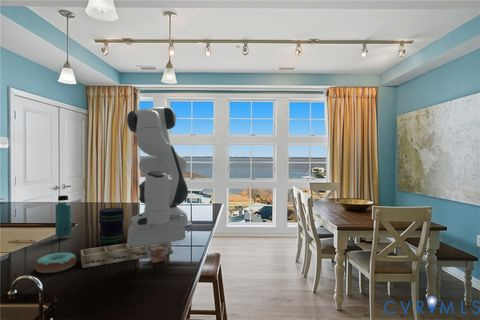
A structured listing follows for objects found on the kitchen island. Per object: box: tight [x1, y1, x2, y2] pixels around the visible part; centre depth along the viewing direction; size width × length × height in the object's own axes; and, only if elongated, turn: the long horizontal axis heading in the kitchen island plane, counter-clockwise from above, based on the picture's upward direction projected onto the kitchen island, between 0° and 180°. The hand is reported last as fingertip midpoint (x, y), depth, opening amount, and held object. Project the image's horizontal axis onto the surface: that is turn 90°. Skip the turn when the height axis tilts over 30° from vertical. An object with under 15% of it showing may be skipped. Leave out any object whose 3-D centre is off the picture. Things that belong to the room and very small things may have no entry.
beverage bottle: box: [55, 195, 72, 238], centre depth 137 cm, size 6×7×20 cm
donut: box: [34, 252, 77, 274], centre depth 99 cm, size 12×12×4 cm
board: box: [80, 242, 173, 269], centre depth 111 cm, size 31×10×4 cm, turn 121°
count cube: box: [150, 247, 166, 264], centre depth 106 cm, size 4×4×4 cm
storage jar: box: [98, 207, 125, 247], centre depth 127 cm, size 10×10×15 cm
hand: (157, 255), depth 106 cm, fingers closed on count cube, 4 cm apart
